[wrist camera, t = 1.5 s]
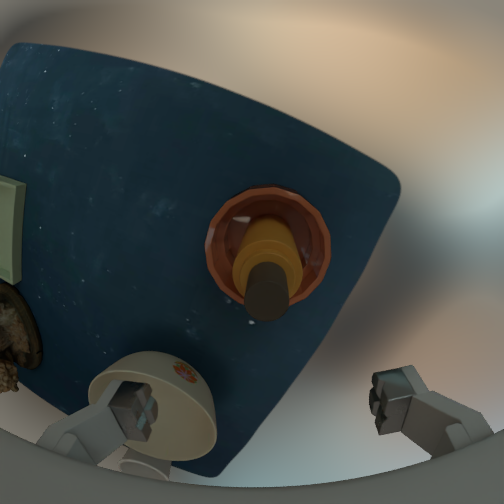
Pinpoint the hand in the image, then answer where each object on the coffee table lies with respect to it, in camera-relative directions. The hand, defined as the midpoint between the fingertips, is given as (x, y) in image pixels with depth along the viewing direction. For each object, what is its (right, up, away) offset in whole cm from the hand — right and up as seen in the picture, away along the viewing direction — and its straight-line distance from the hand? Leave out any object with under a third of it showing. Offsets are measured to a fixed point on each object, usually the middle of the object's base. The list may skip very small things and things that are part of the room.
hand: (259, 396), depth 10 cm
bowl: (-12, -12, +29) cm, 33 cm away
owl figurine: (-41, -8, +30) cm, 51 cm away
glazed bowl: (+1, +7, +23) cm, 24 cm away
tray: (-39, +9, +24) cm, 47 cm away
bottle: (+1, +7, +22) cm, 23 cm away
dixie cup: (-16, -26, +33) cm, 45 cm away
